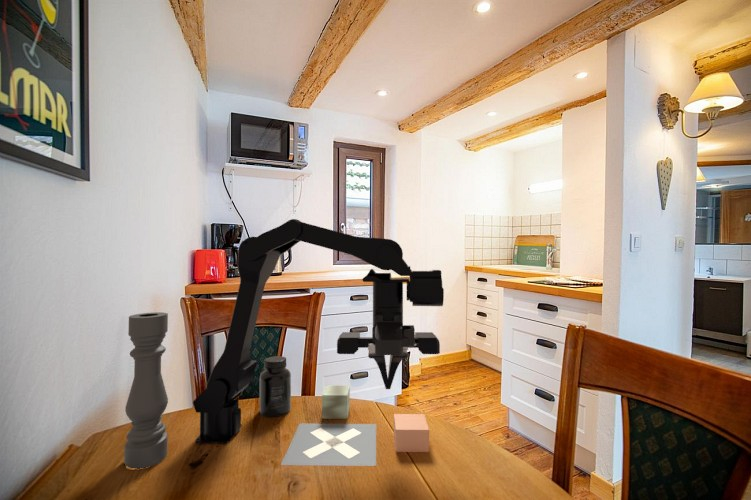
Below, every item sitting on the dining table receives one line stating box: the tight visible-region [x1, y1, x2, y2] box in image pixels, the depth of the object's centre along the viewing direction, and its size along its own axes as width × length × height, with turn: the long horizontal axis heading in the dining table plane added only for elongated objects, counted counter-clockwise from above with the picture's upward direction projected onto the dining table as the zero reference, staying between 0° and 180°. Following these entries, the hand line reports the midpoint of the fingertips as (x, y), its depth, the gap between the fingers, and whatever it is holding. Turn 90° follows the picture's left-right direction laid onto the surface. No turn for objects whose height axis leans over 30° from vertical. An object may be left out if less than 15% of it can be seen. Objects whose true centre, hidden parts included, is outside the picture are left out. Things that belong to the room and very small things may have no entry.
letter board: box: [280, 422, 377, 467], centre depth 63 cm, size 16×14×1 cm
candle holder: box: [123, 312, 169, 469], centre depth 59 cm, size 6×6×25 cm
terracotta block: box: [393, 413, 430, 453], centre depth 63 cm, size 6×6×4 cm
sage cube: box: [321, 385, 351, 420], centre depth 75 cm, size 6×6×6 cm
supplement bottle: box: [259, 355, 292, 418], centre depth 76 cm, size 7×7×12 cm
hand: (387, 388), depth 63 cm, fingers closed
